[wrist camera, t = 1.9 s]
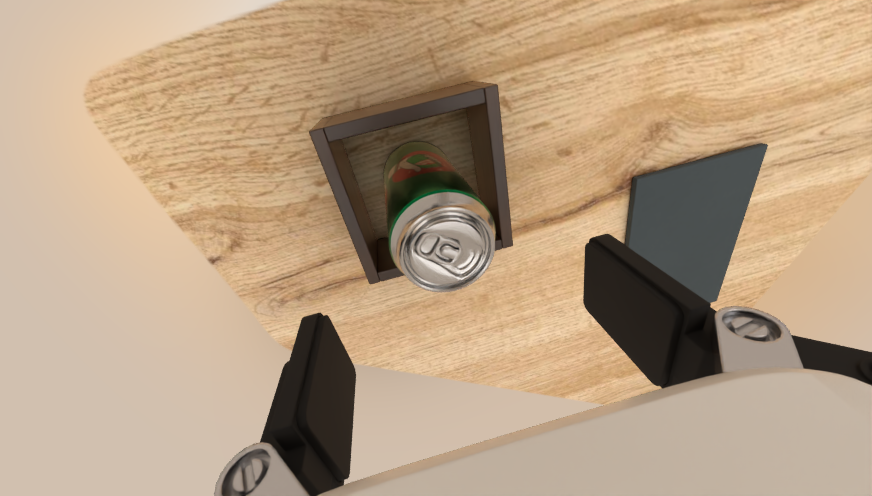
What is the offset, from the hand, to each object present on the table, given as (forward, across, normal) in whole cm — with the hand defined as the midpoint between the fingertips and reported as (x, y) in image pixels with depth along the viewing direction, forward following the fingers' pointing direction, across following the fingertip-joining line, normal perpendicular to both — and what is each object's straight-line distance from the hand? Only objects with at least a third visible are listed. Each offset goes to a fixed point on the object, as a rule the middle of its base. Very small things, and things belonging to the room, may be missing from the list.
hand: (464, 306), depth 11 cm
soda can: (+15, 0, 0) cm, 15 cm away
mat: (+15, -24, +14) cm, 32 cm away
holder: (+15, 0, 0) cm, 15 cm away
